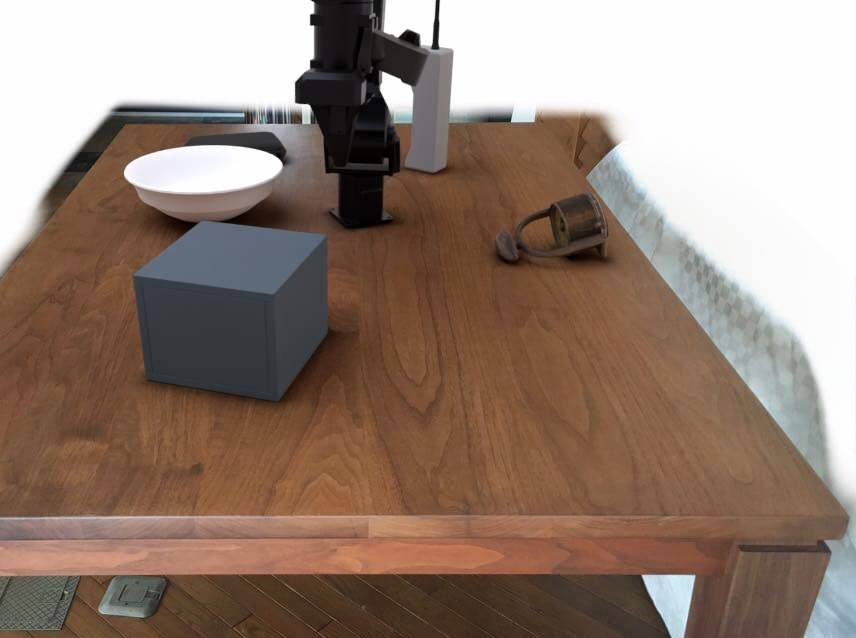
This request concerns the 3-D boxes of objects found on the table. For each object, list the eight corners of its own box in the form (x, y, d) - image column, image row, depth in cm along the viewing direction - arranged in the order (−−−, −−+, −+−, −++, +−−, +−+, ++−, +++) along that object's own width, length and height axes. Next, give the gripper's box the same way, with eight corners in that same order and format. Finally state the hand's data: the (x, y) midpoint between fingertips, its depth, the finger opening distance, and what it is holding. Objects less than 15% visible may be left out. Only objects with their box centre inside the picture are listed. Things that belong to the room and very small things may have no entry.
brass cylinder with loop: (621, 230, 96) (620, 182, 103) (501, 212, 98) (508, 165, 105) (603, 284, 101) (604, 235, 108) (490, 266, 103) (497, 218, 110)
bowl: (147, 190, 125) (142, 144, 122) (290, 191, 124) (288, 145, 121) (113, 243, 108) (106, 191, 105) (278, 244, 107) (276, 192, 104)
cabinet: (209, 315, 91) (202, 220, 86) (328, 333, 88) (327, 234, 83) (145, 379, 80) (132, 274, 75) (278, 402, 77) (273, 294, 72)
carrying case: (191, 174, 131) (290, 167, 134) (189, 153, 129) (290, 146, 132) (183, 154, 140) (277, 147, 143) (182, 134, 138) (276, 128, 141)
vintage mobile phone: (417, 162, 136) (426, -20, 123) (446, 168, 133) (458, -18, 120) (404, 168, 133) (411, -18, 120) (433, 174, 131) (444, -15, 118)
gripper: (420, 8, 77) (411, 190, 84) (432, 0, 94) (424, 153, 101) (293, 5, 79) (294, 184, 86) (327, -2, 95) (326, 149, 102)
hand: (340, 166), depth 94 cm, fingers closed
